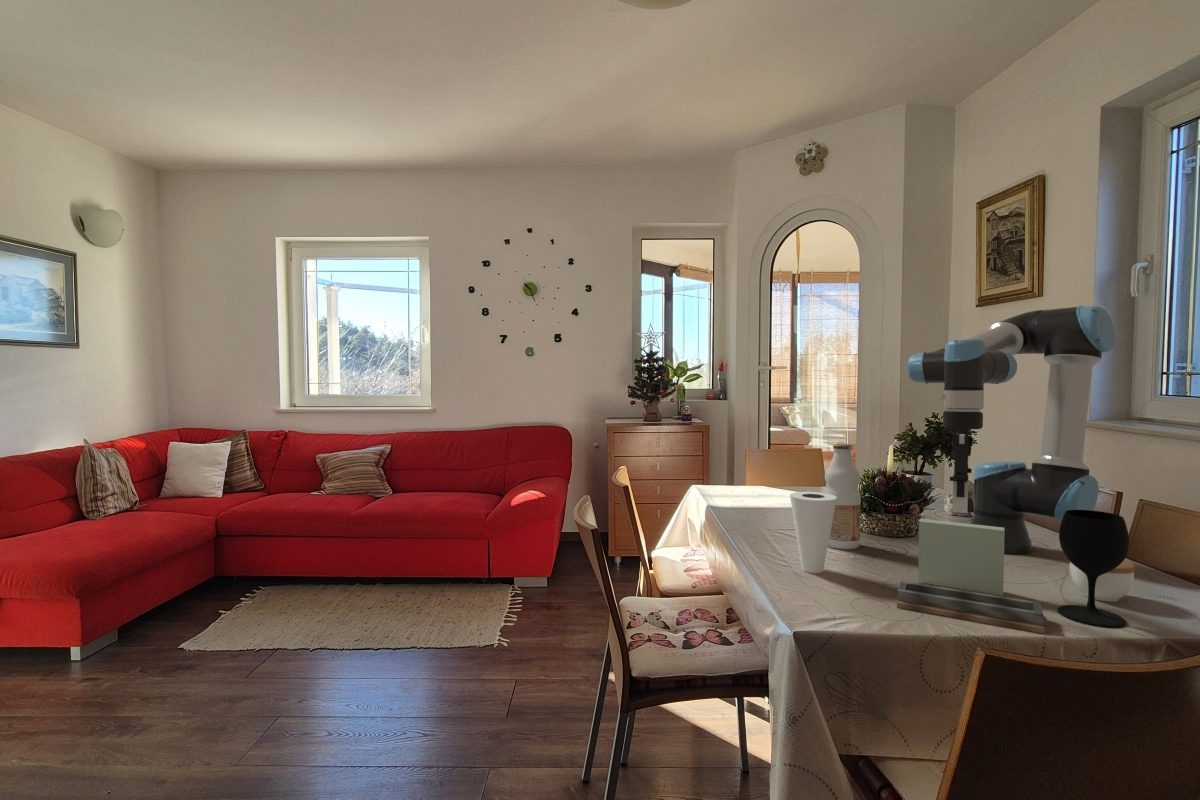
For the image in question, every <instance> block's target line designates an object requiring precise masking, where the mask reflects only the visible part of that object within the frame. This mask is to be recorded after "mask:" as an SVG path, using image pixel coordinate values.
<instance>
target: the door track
mask: <svg viewBox="0 0 1200 800" xmlns="http://www.w3.org/2000/svg"><path fill="white" fill-rule="evenodd" d="M896 608H898V609H902V608H903V610H908V609H909V611H913V610H915V612H919V611H921V612H920V613H925V612H928V613H927V614H930V613H933V614H932V615H936V614H937V616H941V615H943V616H942V617H948V618H954V619H958V620H963V621H969V622H970V621H971V622H976V623H980V624H986V625H993V626H998V627H1003V628H1010V629H1015V630H1019V631H1020V630H1021V631H1025V630H1026V631H1025V632H1031V631H1033V633H1036V632H1039V633H1038V634H1042V633H1043V635H1044V634H1045V627H1044V620H1045V619H1044V615H1045V614H1044V611H1043V608H1042V605H1041V602H1040V601H1034V600H1026V599H1022V598H1021V599H1020V598H1013V597H1007V596H1002V595H995V594H989V593H983V592H976V591H970V590H963V589H957V588H951V587H944V586H938V585H931V584H925V583H919V582H912V581H907V580H901V581H900V582H899V586H898V588H897V602H896Z"/></svg>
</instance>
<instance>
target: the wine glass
mask: <svg viewBox="0 0 1200 800" xmlns="http://www.w3.org/2000/svg"><path fill="white" fill-rule="evenodd" d="M1060 522H1061V523H1060V526H1059V530H1058V531H1059V532H1058V538H1059V540H1058V541H1059V545H1060V547H1061V550H1062V552H1063V555H1064V556H1065V557H1066V558H1067V559H1068V561H1069V563H1070V562H1071V563H1072V564H1074V565H1075V566H1076V567H1077V568H1078V569H1080V570H1081V571H1082V572H1083V573H1085V574H1086V576H1087V579H1088V597H1087V602H1086V603H1087V604H1086V605H1080V604H1079V605H1078V604H1064V605H1059V607H1058V608H1057V613H1058V614H1059V615H1060V616H1061V617H1064V618H1066V619H1068V620H1071V621H1074V622H1075V623H1079V622H1080V624H1083V625H1087V624H1088V626H1093V627H1097V626H1098V628H1105V629H1106V628H1107V629H1108V628H1109V629H1110V628H1111V629H1112V628H1113V629H1116V628H1117V629H1119V628H1123V627H1125V626H1126V625H1127V621H1126V619H1125V618H1123V617H1122V616H1120V615H1119V614H1116V613H1114V612H1111V611H1109V610H1105V609H1101V608H1097V606H1096V600H1095V585H1096V580H1097V578H1098V577H1099V576H1100V575H1103V574H1105V573H1107V572H1110V571H1111V570H1113V569H1115V568H1116V567H1118V566H1119V565H1120V564H1121V563H1122V562H1123V561H1124V560H1126V557H1127V555H1128V552H1129V549H1130V536H1129V531H1128V527H1127V524H1126V520H1125V518H1124V517H1123V516H1122V515H1119V514H1115V513H1112V512H1105V511H1099V510H1067V511H1065V514H1064V516H1063V518H1062V520H1061V521H1060Z"/></svg>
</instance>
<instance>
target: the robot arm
mask: <svg viewBox="0 0 1200 800" xmlns="http://www.w3.org/2000/svg"><path fill="white" fill-rule="evenodd" d="M1115 336H1116V334H1115V327H1114V324H1113V320H1112V318H1111V316H1110V314H1109V313H1108V311H1107V310H1105V308H1103V307H1101V306H1098V305H1091V306H1090V305H1089V306H1086V305H1085V306H1083V305H1079V306H1073V307H1072V306H1071V307H1063V308H1052V309H1045V310H1044V309H1040V310H1039V309H1038V310H1033V311H1028V312H1027V311H1026V312H1024V313H1020V314H1017V315H1015V316H1011V317H1009V318H1006V319H1004V320H1002V321H998V322H996V323H994V324H992V325H990V326H989V327H988V329H987V330H986V331H983V332H980V333H978V334H975V335H973V336H971V337H969V338H965V339H952V340H948V341H947V342H946V343H945V347H944V348H940V349H937V350H935V351H931V352H926V351H923V352H918V353H914V354H912V355H911V356H910V357H909V359H908V361H907V364H906V365H907V366H906V369H907V375H908V377H909V379H910V380H911V381H912V382H914V383H918V384H919V383H920V384H925V385H926V384H943V385H944V386H943V390H944V392H943V394H940V399H941V400H943V408H944V409H946V410H944V411H943V412H942V426H943V427H944V428H946V429H956V430H955V434H954V435H952V436H951V445H952V455H953V456H954V466H953V467H954V469H953V475H952V476H949V482H952V507H951V508H952V512H953V513H962V514H968V505H969V503H968V501H969V474H972V468H969V457H970V456H971V455H972V446H973V438H974V437H973V436H970V431H969V430H980V429H981V430H982V428H983V427H984V426H983V425H984V413H983V412H982V411H981V410H983V409H984V407H985V405H984V402H985V401H984V400H985V399H984V398H985V390H984V389H985V388H984V385H985V384H991V385H995V384H996V385H999V384H1003V383H1007V382H1010V381H1011V380H1012V379H1013V378H1014V377H1015V375H1016V374H1017V371H1018V361H1017V360H1016V358H1015V357H1014V355H1027V354H1029V355H1032V354H1033V355H1034V354H1035V355H1036V354H1037V355H1038V354H1043V360H1044V361H1045V362H1046V363H1048V364H1049V372H1048V373H1049V375H1048V383H1047V393H1046V399H1045V400H1046V401H1045V409H1044V410H1045V411H1044V419H1043V426H1042V427H1043V429H1042V430H1043V431H1042V436H1041V437H1042V438H1041V447H1040V455H1039V456H1038V458H1036V459H1035V460H1033V461H1032V463H1031V468H1027V464H1026V463H1025V462H1024V461H993V462H991V461H990V462H982V463H979V464H977V465H976V466H975V468H974V474H973V478H972V479H973V480H972V481H973V516H972V518H971V521H970V523H969V524H975V525H984V526H994V527H1003V528H1004V530H1005V537H1004V554H1025V553H1026V552H1027V553H1030V552H1032V550H1033V549H1032V548H1033V546H1032V545H1033V544H1032V543H1033V542H1032V540H1031V538H1030V535H1029V531H1028V529H1027V528H1028V527H1027V524H1026V521H1025V514H1030V515H1035V516H1039V517H1046V518H1051V519H1052V518H1053V519H1056V520H1061V521H1062V518H1063V516H1064V514H1065V511H1067V510H1092V511H1094V508H1095V507H1096V504H1097V501H1098V497H1099V491H1100V487H1099V483H1098V480H1097V478H1096V477H1094V476H1093V475H1091V474H1090V467H1088V466H1087V465H1086V463H1085V462H1084V461H1083V460H1084V451H1085V442H1086V433H1087V425H1088V424H1087V423H1088V414H1089V403H1090V395H1091V385H1092V375H1093V367H1094V366H1095V365H1097V364H1098V363H1100V362H1101V361H1102V354H1103V353H1107V352H1110V351H1111V350H1112V349H1113V346H1114V345H1115V340H1116V339H1115ZM952 512H951V513H952Z"/></svg>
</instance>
